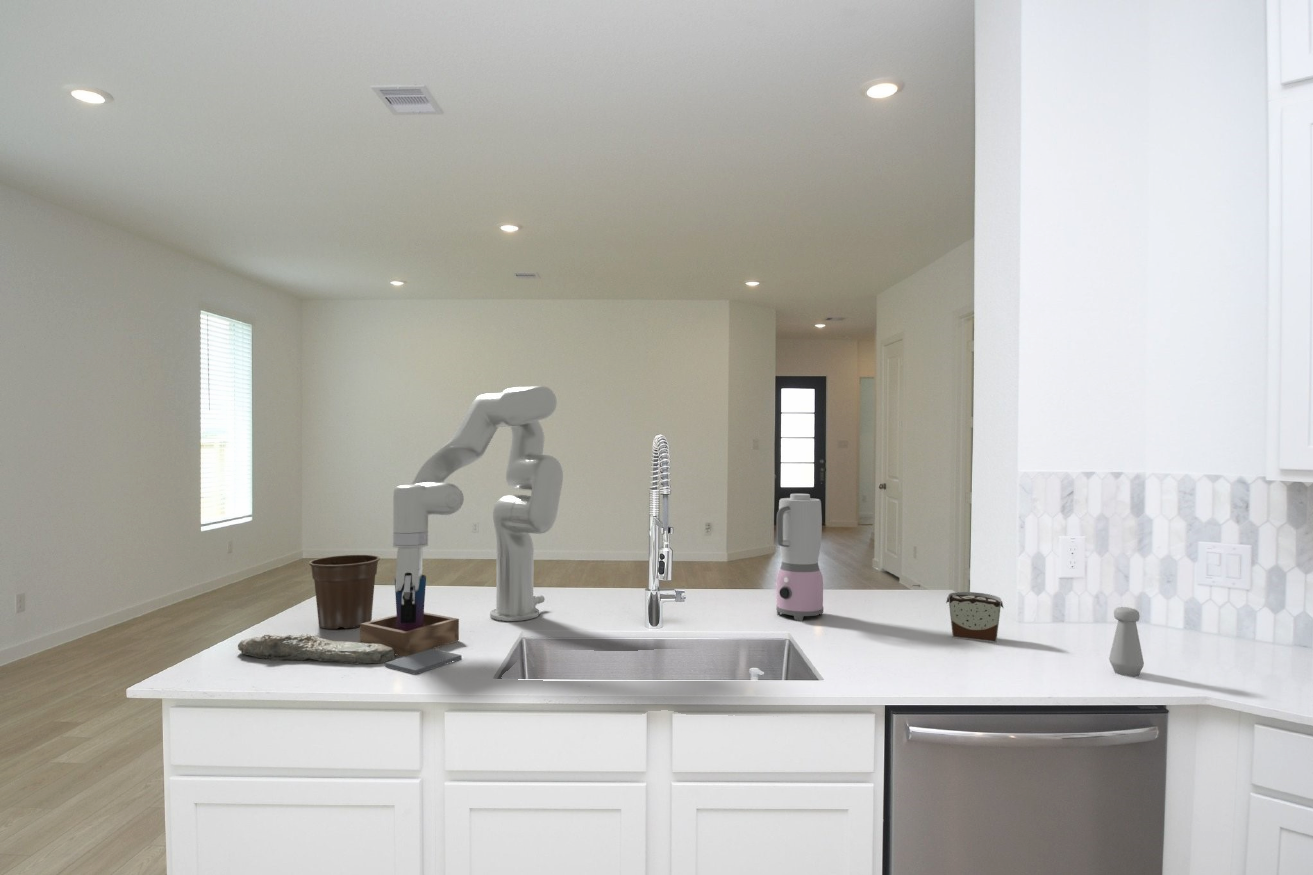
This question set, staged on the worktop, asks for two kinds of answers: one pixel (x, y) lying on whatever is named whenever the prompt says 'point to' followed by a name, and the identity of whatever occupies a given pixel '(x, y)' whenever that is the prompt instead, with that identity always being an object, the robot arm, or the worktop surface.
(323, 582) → the plant pot
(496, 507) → the robot arm
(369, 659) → the long grey stone
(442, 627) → the open wooden box
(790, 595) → the blender
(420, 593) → the cup
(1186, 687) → the worktop surface
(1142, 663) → the salt shaker
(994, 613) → the food container
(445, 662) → the slate mat
